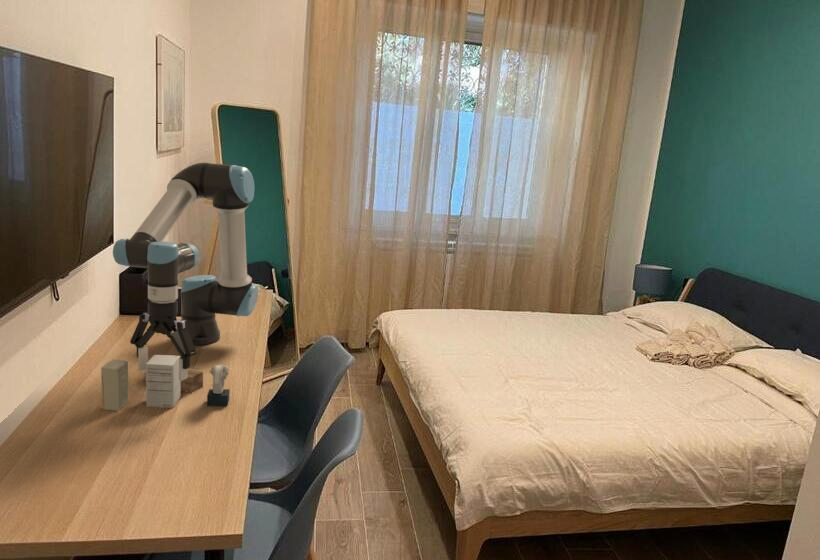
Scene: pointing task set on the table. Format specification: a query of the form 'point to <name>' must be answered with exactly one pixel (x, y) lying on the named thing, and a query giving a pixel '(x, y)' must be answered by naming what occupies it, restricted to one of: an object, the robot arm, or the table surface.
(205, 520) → the table surface
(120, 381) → the skincare box
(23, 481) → the table surface
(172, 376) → the supplement box
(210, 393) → the watch
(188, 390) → the walnut cube
